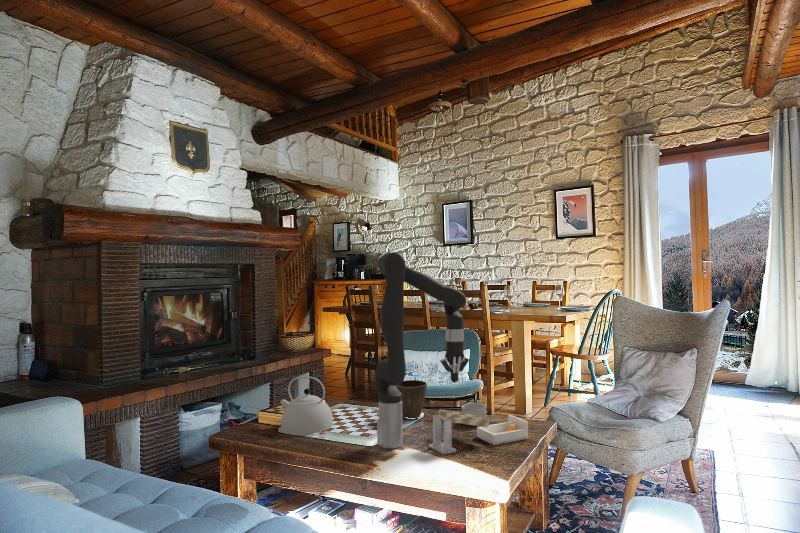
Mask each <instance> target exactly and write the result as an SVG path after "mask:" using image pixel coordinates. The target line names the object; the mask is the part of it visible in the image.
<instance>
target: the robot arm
mask: <svg viewBox="0 0 800 533" xmlns="http://www.w3.org/2000/svg"><path fill="white" fill-rule="evenodd" d="M377 266H378V270H379V272H380V273H381V274H382V275H384V277H385V289H384V294H383V298H382V303H381V306H380V313H379V314H380V318H379V319H380V321H379V322H380V330H381V333H382V336H383V338H384V341H385V344H386V348H387V358H384V359H382V360H380V361H379V362H378V364H377V366H376V368H375V385H376V395H377V397H378V419H377V420H376V440H377V441H376V444H377V445H378V446H379V447H380V448H382V449H398V448H400V447H402V446H403V444H404V443H403V439H404V438H403V436H404V435H403V433H404V432H403V430H404V429H403V427H404V426H403V415H402V394H401V392H400V391H399V390H398V388H397V386H396V385H399V384H401V383H402V382H403V381H405V377H406V374H407V370H406V368H407V366H406V357H405V343H404V342H405V336H404V334H405V333H404V332H405V331H404V329H405V326H404V325H405V305H404V303H405V302H404V298H405V296H404V295H405V294H404V288H405V287H404V286H405V285H404V284H405V283H406V284H408V285H410V286H411V287H413V288H416V289H417V290H419V291H420V292H422V293H425V294H426V295H428V296H429V297H431V298H434V299H435V300H439V301H442V302H443V308H444V312H445V313H444V314H445V318H446V320H445V321H446V322H445V325H446V329H445V355H444V358H443V359H440V363H441V365H442V366H443V367H444V369H445V370H446V372H449V373H450V381H451V382H452V383H458V381H459V374H460V372H463V371H464V370H465V368H466V366H467V364H468V363H469V361H470V360H469V358H467V357H465V353H464V350H465V332H464V317H463V315H462V314H461V313H460V309H462V308H464V307H465V306H466V304H467V297H466V295H465V294H464V293H463V292H462V291H461V290H458V289H456V288H453V287H451V286H448V285H447V284H445V283H443V282H441V281H439V280H437V279H436V278H434V277H432V276H429V275H427V274H425V273H422V272H420V271H417V270H415V269H413V268H411V267H409V266H408V265H406V259H405V258H404V256H403V255H402V254H401V253H399V252H388V253H385V254H383V255H381V256H380V257H379V259H378V262H377Z"/></svg>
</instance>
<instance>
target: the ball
mask: <svg viewBox="0 0 800 533" xmlns="http://www.w3.org/2000/svg"><path fill="white" fill-rule="evenodd" d="M507 430H508V432H509V431H515V430H517V427H516V426H515V425H514V424H510V425H509V426H508V428H507Z"/></svg>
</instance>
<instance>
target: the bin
mask: <svg viewBox="0 0 800 533" xmlns="http://www.w3.org/2000/svg"><path fill="white" fill-rule="evenodd" d="M510 424H514V425H515V426H516V427H517V430H515V431H509V432H508V430H507V428H508V426H509V425H510ZM476 438H478V439H480V440H483V441H484V442H486V443H489V444H490V445H493V446H497V445H503V443H504V444H509V443H513V442H519V441H523V440H524V439H525V440H528V439H529V421H528V420H525V419H523V418H520V417H517V416H514V415H512V414H508V415H507V421H506V422H499V423H495V424H489V425H488V427H481V426H476Z"/></svg>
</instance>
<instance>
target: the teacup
mask: <svg viewBox="0 0 800 533" xmlns="http://www.w3.org/2000/svg"><path fill="white" fill-rule="evenodd" d="M486 409H487V405H486V404H484V403H479V402H470V401H469V402H466V403H464V404H463V405H461V413H464V414H470V415H476V416H481V418H482V419H487V410H486Z"/></svg>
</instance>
